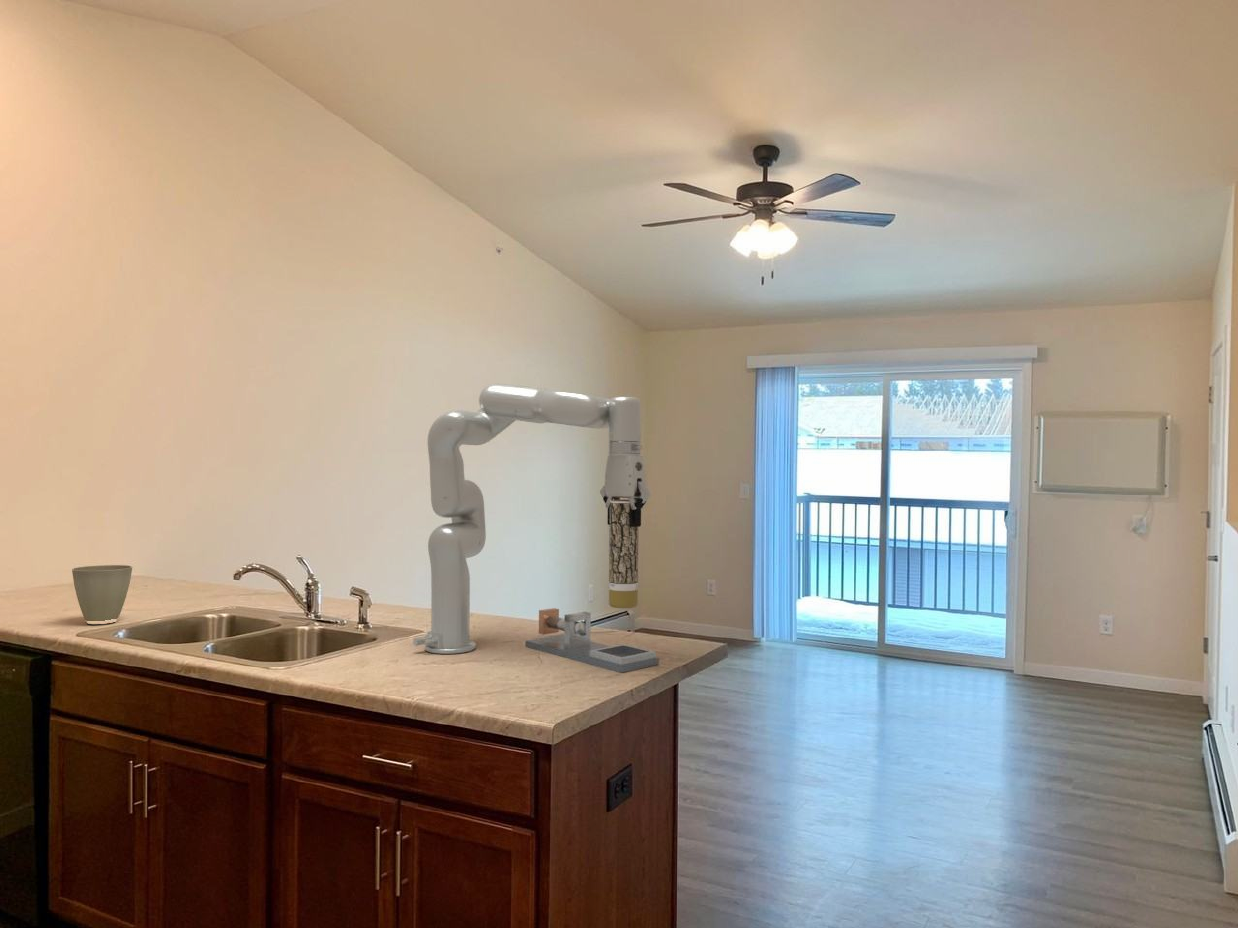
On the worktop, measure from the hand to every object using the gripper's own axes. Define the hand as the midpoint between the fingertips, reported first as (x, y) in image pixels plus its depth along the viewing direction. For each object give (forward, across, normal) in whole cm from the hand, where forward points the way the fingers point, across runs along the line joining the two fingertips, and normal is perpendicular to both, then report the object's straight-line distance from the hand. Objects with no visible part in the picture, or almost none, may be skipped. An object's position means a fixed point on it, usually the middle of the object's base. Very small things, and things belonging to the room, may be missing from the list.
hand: (624, 524), depth 201 cm
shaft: (+30, +22, 0) cm, 37 cm away
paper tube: (+19, 0, 0) cm, 19 cm away
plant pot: (+33, +134, +79) cm, 159 cm away
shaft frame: (+33, +12, 0) cm, 35 cm away
